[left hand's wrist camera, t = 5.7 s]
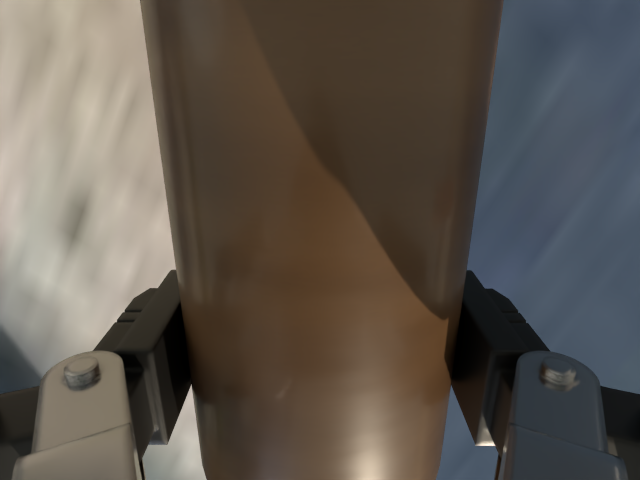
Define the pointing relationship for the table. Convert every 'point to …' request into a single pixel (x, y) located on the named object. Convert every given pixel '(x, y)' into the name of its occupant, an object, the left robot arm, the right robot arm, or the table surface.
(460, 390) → the left robot arm
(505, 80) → the table surface
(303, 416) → the rod
